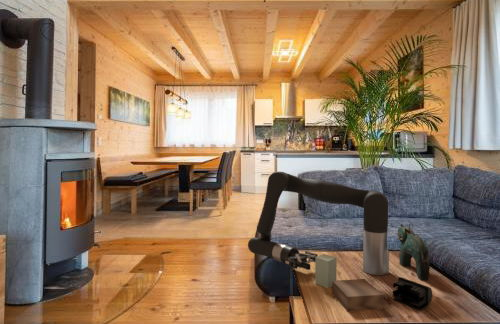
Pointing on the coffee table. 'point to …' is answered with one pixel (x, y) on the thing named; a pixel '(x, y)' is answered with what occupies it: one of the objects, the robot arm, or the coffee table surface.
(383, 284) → the coffee table surface
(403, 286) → the end cap
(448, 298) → the coffee table surface
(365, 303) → the walnut box
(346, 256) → the coffee table surface
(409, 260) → the green animal figurine
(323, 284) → the tall sage green block
